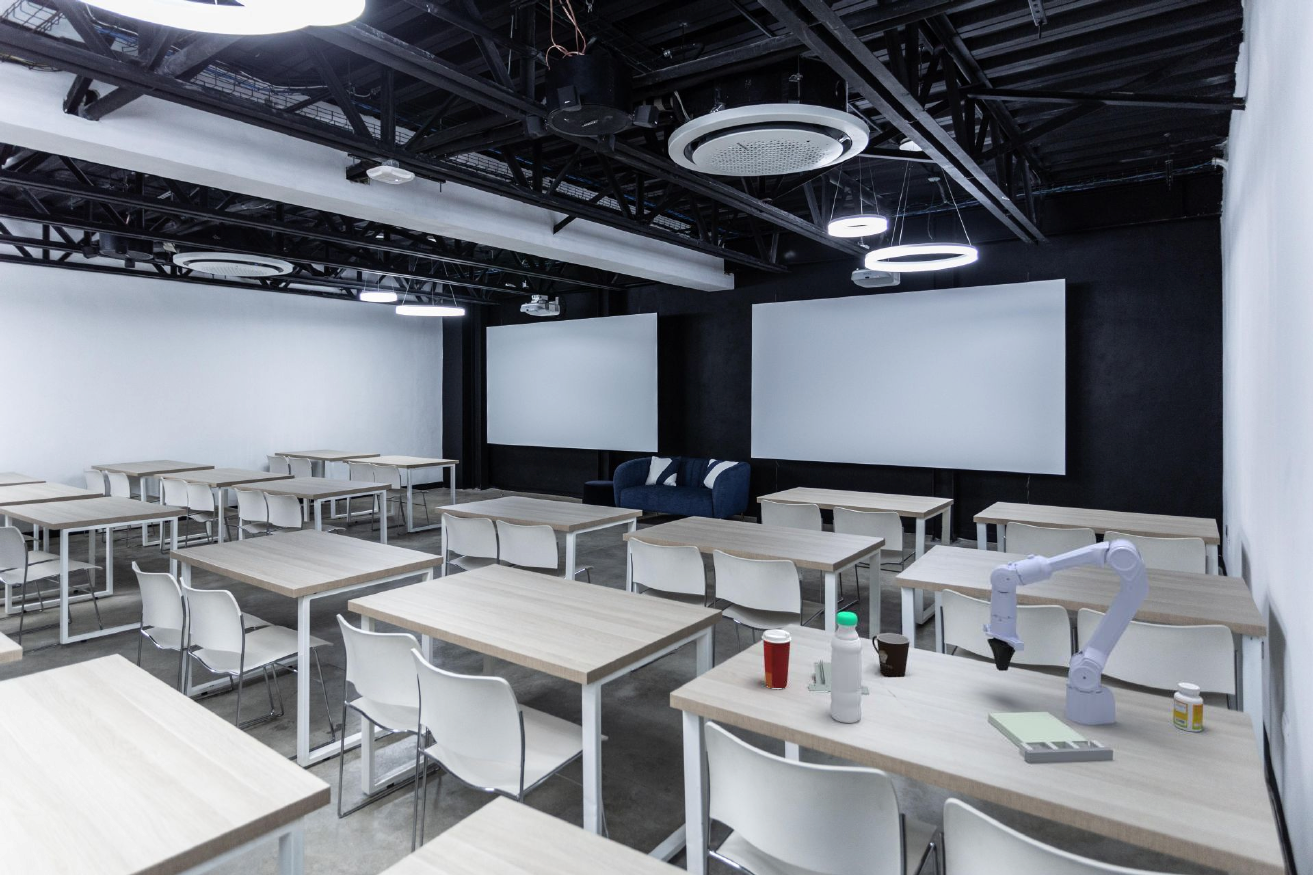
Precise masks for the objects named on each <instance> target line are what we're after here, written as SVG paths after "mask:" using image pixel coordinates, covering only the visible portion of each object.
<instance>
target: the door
mask: <svg viewBox="0 0 1313 875" xmlns="http://www.w3.org/2000/svg"><path fill="white" fill-rule="evenodd" d="M987 715H988V716H987V722H988V723H990V724H991V725H992V726H993V727H995V728H996V729H997V730H998V731H999V732H1000V733H1001V734H1003V735H1004V736H1005V737H1007V738H1008V739H1009V740H1010V741H1011V742H1012V743H1014V744H1015V745H1016V746H1017V747H1018V748H1020V743H1026V744H1027V745H1029V746H1030V747H1031V748H1032V749H1034V750H1039V749H1048V748H1047V747H1044V742H1051V743H1052V744H1053V745H1055V746H1056V747H1057V748H1059V749H1065V744H1066V741H1072V742H1073V743H1074V744H1076V745H1077V746H1078V747H1080V748H1095V747H1094V746H1090V745H1088V744H1089V741H1088V739H1086V737H1085V738H1084V737H1083V736H1082V735H1081V734H1079V733H1077V731H1075V730H1074V729H1072V728H1071V727H1069V725H1067V724H1065V723H1064V722H1062V721H1061V720H1060V719H1058V718H1057V717H1055V716H1054V715H1052V714H1051V713H1049V712H1048V711H1029V712H1028V711H1027V712H1024V711H1023V712H995V713H992V712H991V713H988V714H987Z"/></svg>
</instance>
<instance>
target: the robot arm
mask: <svg viewBox="0 0 1313 875" xmlns="http://www.w3.org/2000/svg"><path fill="white" fill-rule="evenodd" d="M1089 564H1090V565H1094V566H1096V567H1100V568H1103V569H1104V568H1106V564H1107V566H1108V567H1109V568H1110V569H1111V570H1112V571H1113V573H1114V574H1116V576H1117V578H1118V580H1119V583H1120V584H1121V588H1120V589H1119V591H1118V592H1117V594H1116V596H1115V597H1114V600H1112V601H1111V604H1110V606H1109V607H1108V609H1107V611H1106V612H1105V614H1104V616H1103V617H1102V619H1101V620H1100V622H1099V623H1098V625H1097V627H1096V629H1095V630H1094V631H1093V633H1092V635H1091V636H1090V638H1089V640H1088V641H1087V642H1086V643H1085V644H1084V645H1083V646H1082V648H1081V649H1080V651H1078V652H1076V653H1074V654H1073V655H1071V657H1070V658H1069V662H1068V664H1069V669H1068V670H1069V671H1068V674H1067V675H1068V679H1066V683H1065V684H1066V686H1065V717H1066V718H1067V719H1069V720H1070V721H1073V722H1075V723H1078V724H1081V725H1087V726H1097V725H1098V726H1099V725H1102V724H1115V722H1116V698H1115V696H1114V693H1113V691H1112V690H1111V689H1110V688H1109V687H1108V686H1107V685H1102V684H1101V682H1102V676H1101V675H1102V673H1103V671H1104V668H1105V666H1106V664H1107V661H1108V658H1109V656H1110V655H1111V653H1112V652H1113V650H1114V648H1115V646H1116V645H1117V643H1118V642H1119V640H1120V639H1121V637H1122V636H1123V634H1124V632H1126V630H1127V628H1128V627H1129V625H1130V623H1131V622H1132V620H1133V618H1134V616H1135V615H1136V613H1138V611H1139V609H1140V607H1141V606H1142V604H1143V602H1144V601H1145V599H1146V598H1147V596H1148V595H1149V592H1150V586H1149V580H1148V575H1147V574H1148V573H1147V569H1146V565H1145V564H1146V563H1145V562H1144V558H1143V555H1142V553H1141V552H1140V551H1139V549H1138V547H1137V546H1136V545H1135V543H1133V542H1132V541H1130V540H1129V539H1126V538H1125V539H1124V538H1117V539H1114V540H1112V541H1110V542H1109V541H1108V540H1107V541H1101V542H1097V543H1094V544H1090V545H1087V546H1084V547H1081V548H1078V549H1074V550H1071V551H1068V552H1065V553H1062V554H1058V555H1055V556H1053V557H1049V558H1048V557H1044V556H1042V555H1041V554H1040V555H1036V556H1035V554H1034V553H1032V554H1029V555H1028V556H1027V558H1026V559H1022V560H1017V561H1014V562H1013V560H1011V561H1007V564H1005V563H1004V564H999V565H996V567H995V568H993V571H992V572H991V573H990V577H989V581H990V584H991V588H990V589H991V595H990V617H989V620H990V622H989V623H983V627H982V628H983V630H982V631H983V632H985V635H986V637H989V638H987V643H988V645H989V647H990V649H991V652H992V656H993V658H994V662H995V667H996V669H997V670H998V671H1000V672H1003V671H1005V672H1006V671H1008V670H1009V666H1010V663H1011V661H1012V657H1013V655H1014V654H1015V652H1017V651H1018V652H1019V651H1025V642H1024V641H1022V639H1021V638H1020V636H1018V634H1017V617H1018V616H1017V613H1018V612H1017V609H1018V608H1017V607H1018V598H1017V586H1020V587H1021V586H1022V587H1024V586H1027V585H1031V584H1034V583H1039V582H1042V581H1046V580H1050V579H1051V577H1052V575H1053V573H1055V572H1059V571H1063V570H1067V569H1068V570H1069V569H1071V568H1076V567H1081V566H1084V565H1089Z"/></svg>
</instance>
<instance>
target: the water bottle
mask: <svg viewBox="0 0 1313 875" xmlns="http://www.w3.org/2000/svg"><path fill="white" fill-rule="evenodd" d="M836 624H837V626H838V627H837V630H836V631H835V633H834V635H833V637H832V639H831V641H830V646H831V649H832V650H831V655H830V656H831V658H830V663H831V684H832V687H831V693H830V699H831V700H830V708H829V711H830V716H831V718H833V719H834V720H836V721H837V722H839V723H844V724H853V723H857V722H859V721H860V720H861V718H862V707H861V702H862V695H861V689H860V688H861V686H862V664H863V661H862V649H863V644H862V641H861V639H860V636H859V634H858V632H857V631H856V627H857V626H858V625H857V624H858V616H857V614H856V613H854V612H851V611H840V612H838V613H837V614H836Z"/></svg>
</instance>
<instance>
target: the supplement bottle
mask: <svg viewBox="0 0 1313 875" xmlns="http://www.w3.org/2000/svg"><path fill="white" fill-rule="evenodd" d="M1177 690H1178V691H1176V692H1175V693H1174V695H1173V712H1172V713H1173V714H1172V715H1173V718H1172V720H1173V721H1172V722H1173V725H1174V726H1175V727H1176V728H1178V729H1180V730H1182V729H1183V731H1186V732H1192V733H1193V732H1194V733H1198V732H1201V731H1202V730H1203V717H1204V715H1203V714H1204V699H1203V698H1202V696H1201V695H1200V692H1201V688H1200V686H1198V685H1197V684H1194V683H1190V682H1189V683H1188V682H1179V683H1178V684H1177Z"/></svg>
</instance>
